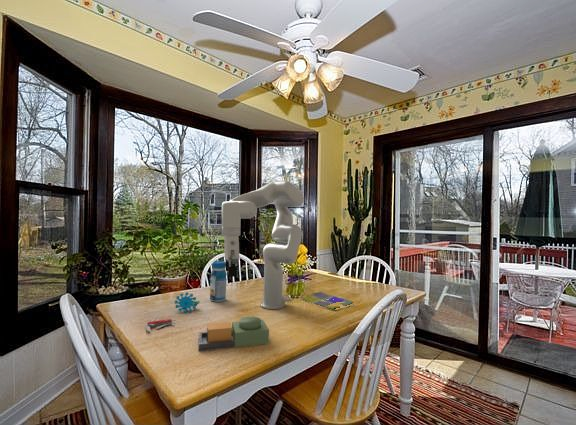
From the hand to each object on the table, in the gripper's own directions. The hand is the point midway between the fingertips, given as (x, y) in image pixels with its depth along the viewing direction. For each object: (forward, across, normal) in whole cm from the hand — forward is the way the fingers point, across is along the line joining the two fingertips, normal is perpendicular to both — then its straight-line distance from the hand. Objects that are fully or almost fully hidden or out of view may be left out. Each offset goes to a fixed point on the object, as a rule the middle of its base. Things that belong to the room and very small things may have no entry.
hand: (230, 273), depth 118 cm
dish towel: (+25, +20, -54) cm, 63 cm away
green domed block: (+21, -15, -5) cm, 26 cm away
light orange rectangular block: (+20, -14, +6) cm, 25 cm away
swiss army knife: (+21, +7, +27) cm, 35 cm away
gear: (+22, +23, +17) cm, 36 cm away
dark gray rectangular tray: (+21, -14, +7) cm, 26 cm away
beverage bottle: (+23, +36, +2) cm, 43 cm away
